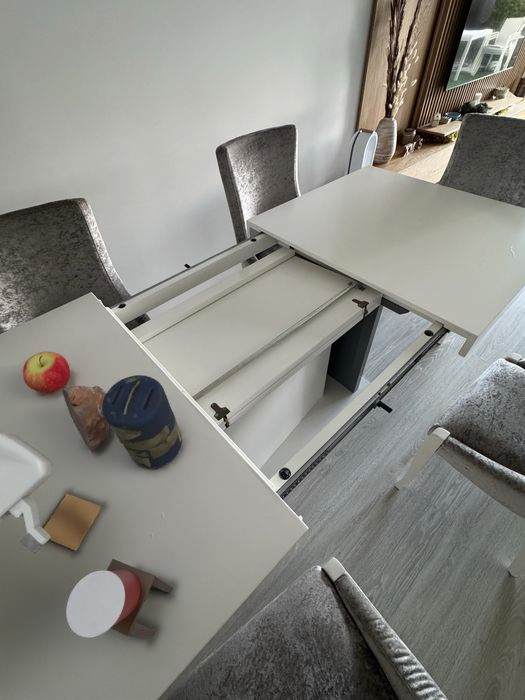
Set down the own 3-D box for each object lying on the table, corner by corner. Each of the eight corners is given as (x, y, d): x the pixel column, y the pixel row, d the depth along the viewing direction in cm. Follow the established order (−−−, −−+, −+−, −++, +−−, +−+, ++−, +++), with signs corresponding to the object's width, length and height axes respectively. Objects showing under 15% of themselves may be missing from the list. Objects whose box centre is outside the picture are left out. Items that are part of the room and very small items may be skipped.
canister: (121, 460, 64) (82, 409, 50) (150, 417, 69) (122, 361, 56) (166, 479, 61) (137, 431, 48) (192, 433, 67) (173, 378, 53)
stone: (69, 413, 70) (46, 385, 62) (109, 391, 73) (91, 361, 66) (94, 459, 64) (70, 434, 56) (136, 433, 67) (119, 405, 60)
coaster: (76, 551, 54) (74, 550, 54) (40, 536, 55) (38, 535, 55) (102, 507, 58) (100, 506, 58) (68, 494, 60) (66, 493, 59)
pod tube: (127, 630, 39) (105, 646, 31) (85, 613, 40) (54, 625, 32) (149, 577, 42) (134, 581, 34) (110, 562, 42) (86, 562, 35)
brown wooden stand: (152, 638, 47) (127, 636, 39) (114, 621, 48) (82, 615, 40) (173, 587, 51) (154, 575, 42) (137, 572, 52) (112, 558, 44)
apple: (63, 403, 72) (39, 374, 64) (27, 397, 73) (-1, 367, 65) (84, 372, 77) (64, 342, 69) (50, 366, 78) (27, 336, 70)
